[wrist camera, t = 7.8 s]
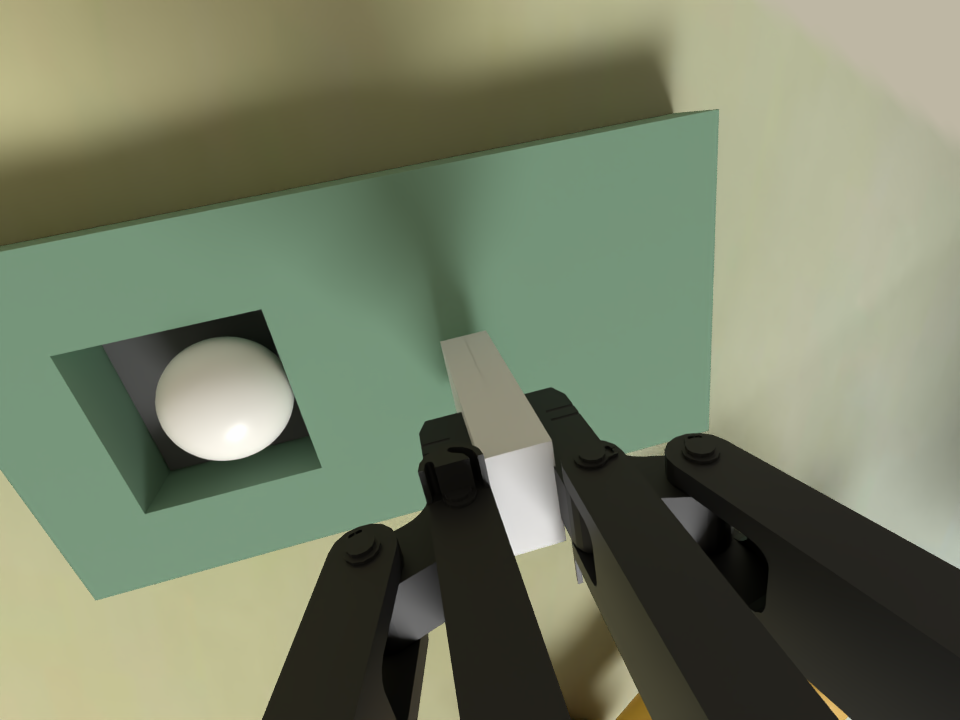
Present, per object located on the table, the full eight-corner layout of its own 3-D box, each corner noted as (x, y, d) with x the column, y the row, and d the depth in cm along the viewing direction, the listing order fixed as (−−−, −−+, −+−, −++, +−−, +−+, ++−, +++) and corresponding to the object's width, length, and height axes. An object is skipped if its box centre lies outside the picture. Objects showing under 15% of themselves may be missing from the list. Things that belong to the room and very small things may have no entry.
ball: (253, 307, 18) (282, 335, 15) (292, 401, 20) (325, 444, 16) (127, 350, 16) (130, 392, 13) (184, 449, 18) (198, 507, 15)
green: (674, 113, 18) (718, 109, 15) (675, 402, 23) (708, 430, 21) (-63, 258, 15) (-139, 279, 13) (126, 549, 20) (95, 600, 18)
